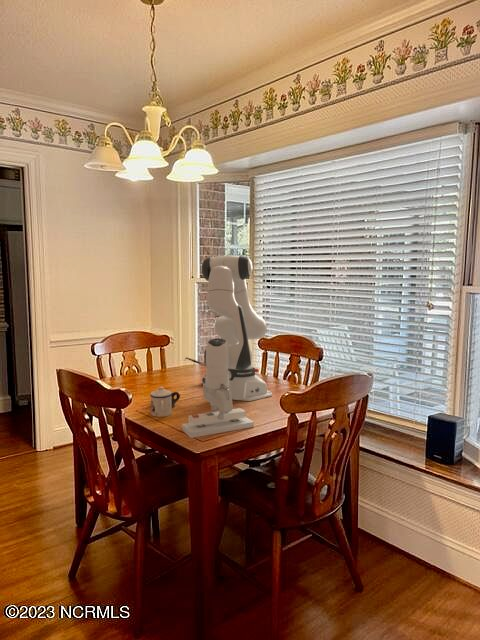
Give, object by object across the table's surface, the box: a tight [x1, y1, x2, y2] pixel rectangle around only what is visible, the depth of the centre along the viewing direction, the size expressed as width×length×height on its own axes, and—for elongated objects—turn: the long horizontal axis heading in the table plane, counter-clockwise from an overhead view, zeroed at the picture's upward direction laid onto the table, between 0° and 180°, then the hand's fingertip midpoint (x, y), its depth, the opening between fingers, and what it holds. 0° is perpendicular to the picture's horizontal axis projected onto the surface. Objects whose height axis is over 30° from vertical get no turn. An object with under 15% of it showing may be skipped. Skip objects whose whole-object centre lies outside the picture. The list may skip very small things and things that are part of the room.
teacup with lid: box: [149, 386, 173, 418], centre depth 190 cm, size 12×9×12 cm
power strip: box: [187, 407, 247, 428], centre depth 175 cm, size 22×4×5 cm, turn 116°
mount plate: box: [181, 416, 255, 439], centre depth 175 cm, size 26×10×2 cm, turn 116°
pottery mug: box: [171, 391, 181, 408], centre depth 204 cm, size 12×10×8 cm
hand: (217, 416), depth 175 cm, fingers closed on power strip, 4 cm apart
